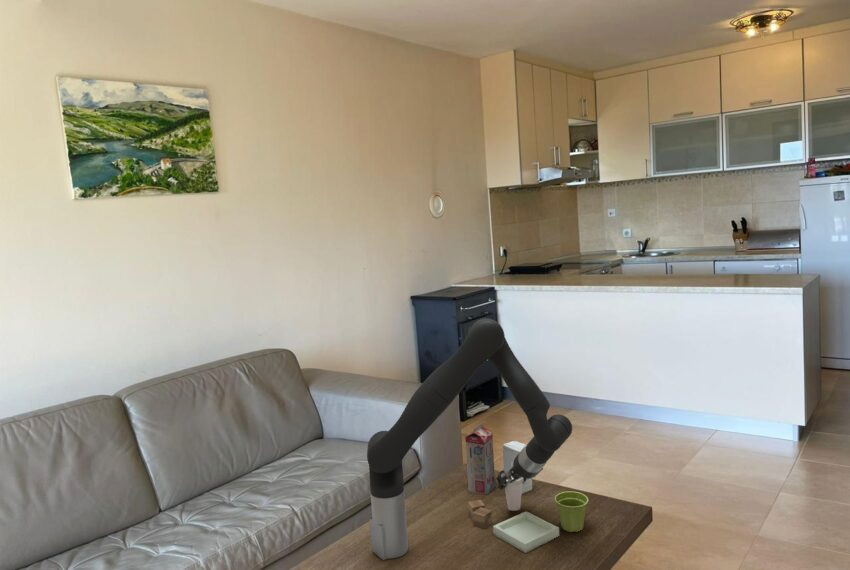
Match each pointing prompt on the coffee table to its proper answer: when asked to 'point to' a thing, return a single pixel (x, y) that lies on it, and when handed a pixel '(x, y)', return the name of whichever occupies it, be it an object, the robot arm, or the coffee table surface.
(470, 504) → the walnut block
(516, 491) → the smoothie
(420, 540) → the coffee table surface
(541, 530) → the dish
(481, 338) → the robot arm
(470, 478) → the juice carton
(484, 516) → the walnut block
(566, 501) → the plant pot
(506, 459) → the skincare box
